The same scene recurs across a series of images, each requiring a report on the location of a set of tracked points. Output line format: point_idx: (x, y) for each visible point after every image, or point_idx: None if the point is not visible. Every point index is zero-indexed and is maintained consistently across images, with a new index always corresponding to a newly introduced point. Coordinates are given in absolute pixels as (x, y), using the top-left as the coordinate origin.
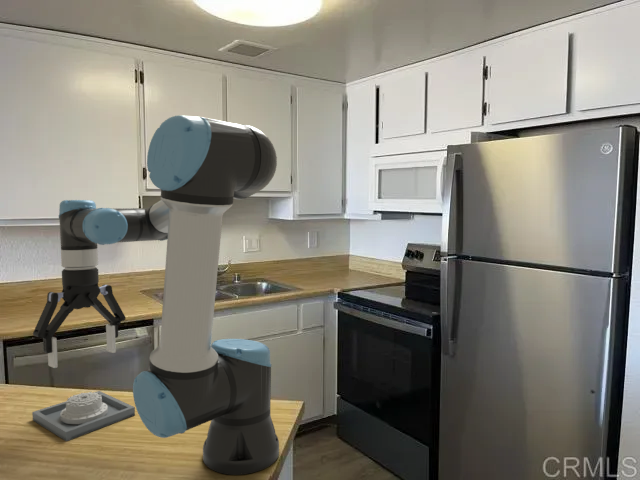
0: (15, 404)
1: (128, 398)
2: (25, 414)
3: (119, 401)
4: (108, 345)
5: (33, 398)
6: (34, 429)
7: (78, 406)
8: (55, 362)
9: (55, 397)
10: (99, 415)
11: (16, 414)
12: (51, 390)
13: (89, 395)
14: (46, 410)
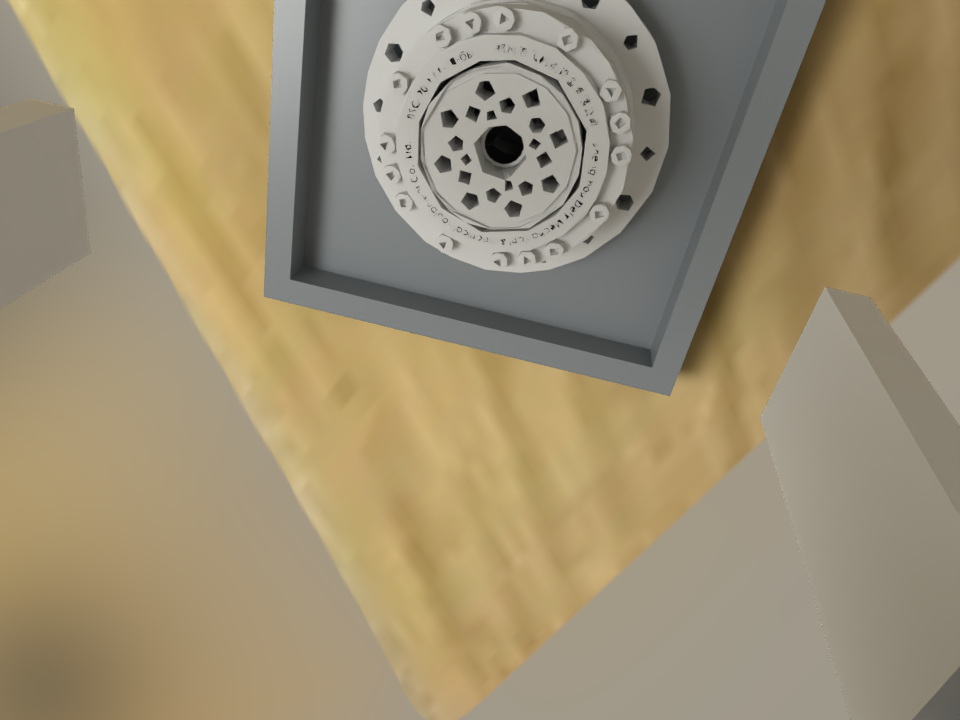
0: (558, 577)
1: (172, 108)
2: (623, 457)
3: (287, 12)
4: (27, 244)
5: (471, 562)
6: (754, 266)
7: (614, 74)
8: (873, 326)
9: (408, 488)
10: None
11: (641, 492)
12: (365, 561)
13: (450, 149)
14: (609, 353)
